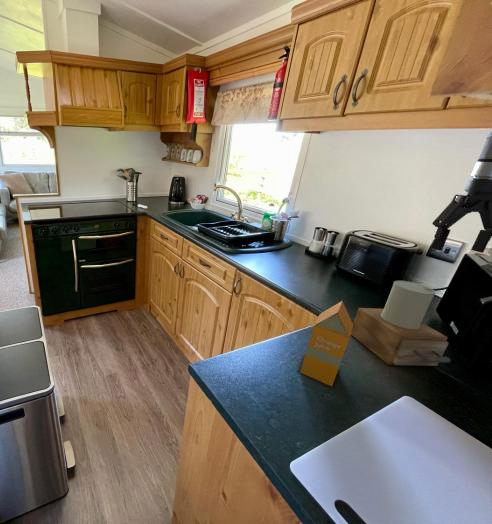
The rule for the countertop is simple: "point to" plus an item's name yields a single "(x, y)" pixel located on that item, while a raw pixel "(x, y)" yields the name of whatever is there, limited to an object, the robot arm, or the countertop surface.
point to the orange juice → (327, 344)
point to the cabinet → (386, 333)
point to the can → (407, 304)
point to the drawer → (421, 352)
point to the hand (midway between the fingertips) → (456, 250)
